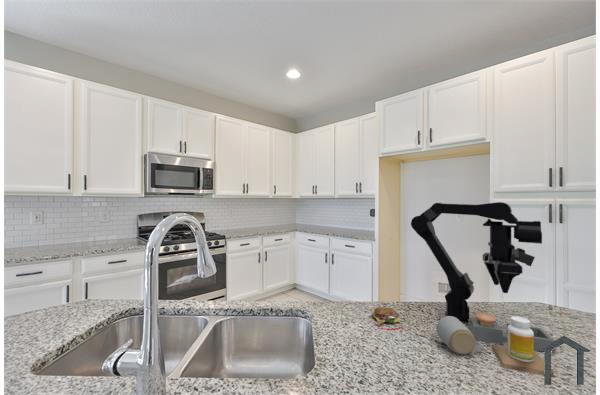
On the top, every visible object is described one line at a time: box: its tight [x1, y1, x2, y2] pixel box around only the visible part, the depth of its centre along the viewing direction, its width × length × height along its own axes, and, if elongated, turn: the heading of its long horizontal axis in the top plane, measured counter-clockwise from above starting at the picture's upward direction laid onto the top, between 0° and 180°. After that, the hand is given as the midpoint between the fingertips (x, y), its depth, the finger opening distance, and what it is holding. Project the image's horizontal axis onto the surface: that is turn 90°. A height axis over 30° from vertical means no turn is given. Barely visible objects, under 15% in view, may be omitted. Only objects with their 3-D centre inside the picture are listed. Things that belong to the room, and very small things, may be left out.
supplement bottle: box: [506, 315, 534, 362], centre depth 72 cm, size 5×5×10 cm
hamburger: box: [371, 306, 405, 331], centre depth 96 cm, size 14×14×6 cm
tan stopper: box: [474, 311, 497, 327], centre depth 85 cm, size 5×5×6 cm
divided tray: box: [469, 316, 556, 355], centre depth 83 cm, size 19×9×4 cm, turn 69°
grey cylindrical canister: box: [435, 315, 484, 356], centre depth 78 cm, size 11×8×8 cm
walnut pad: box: [491, 343, 555, 378], centre depth 72 cm, size 10×10×1 cm
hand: (500, 288), depth 90 cm, fingers open, 9 cm apart
